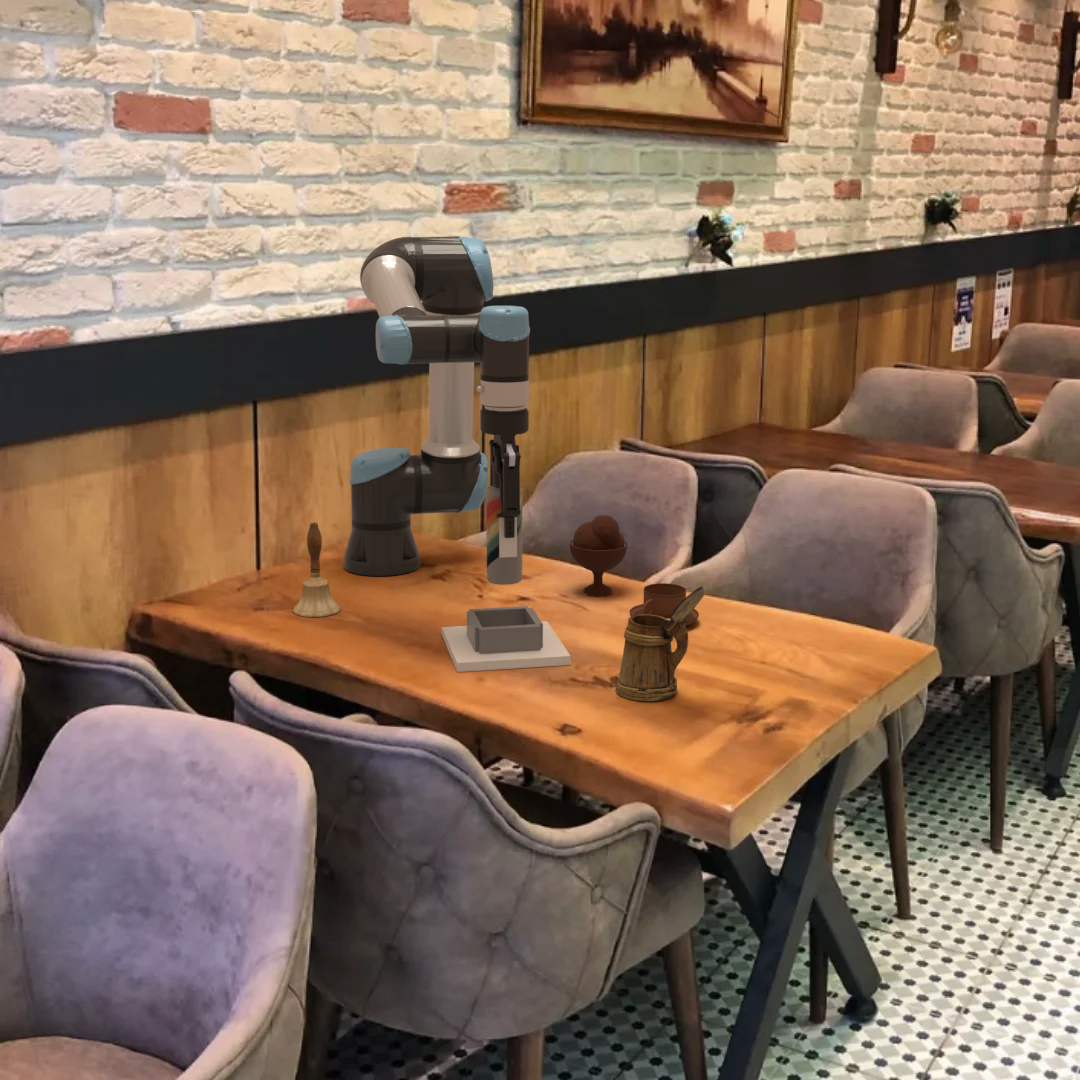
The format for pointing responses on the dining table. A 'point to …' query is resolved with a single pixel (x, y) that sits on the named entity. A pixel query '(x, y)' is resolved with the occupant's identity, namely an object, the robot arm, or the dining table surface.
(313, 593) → the hand bell
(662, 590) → the cup and saucer
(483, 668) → the bottle holder
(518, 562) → the lotion bottle
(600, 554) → the ice cream bowl
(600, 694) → the dining table surface
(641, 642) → the wooden mug
